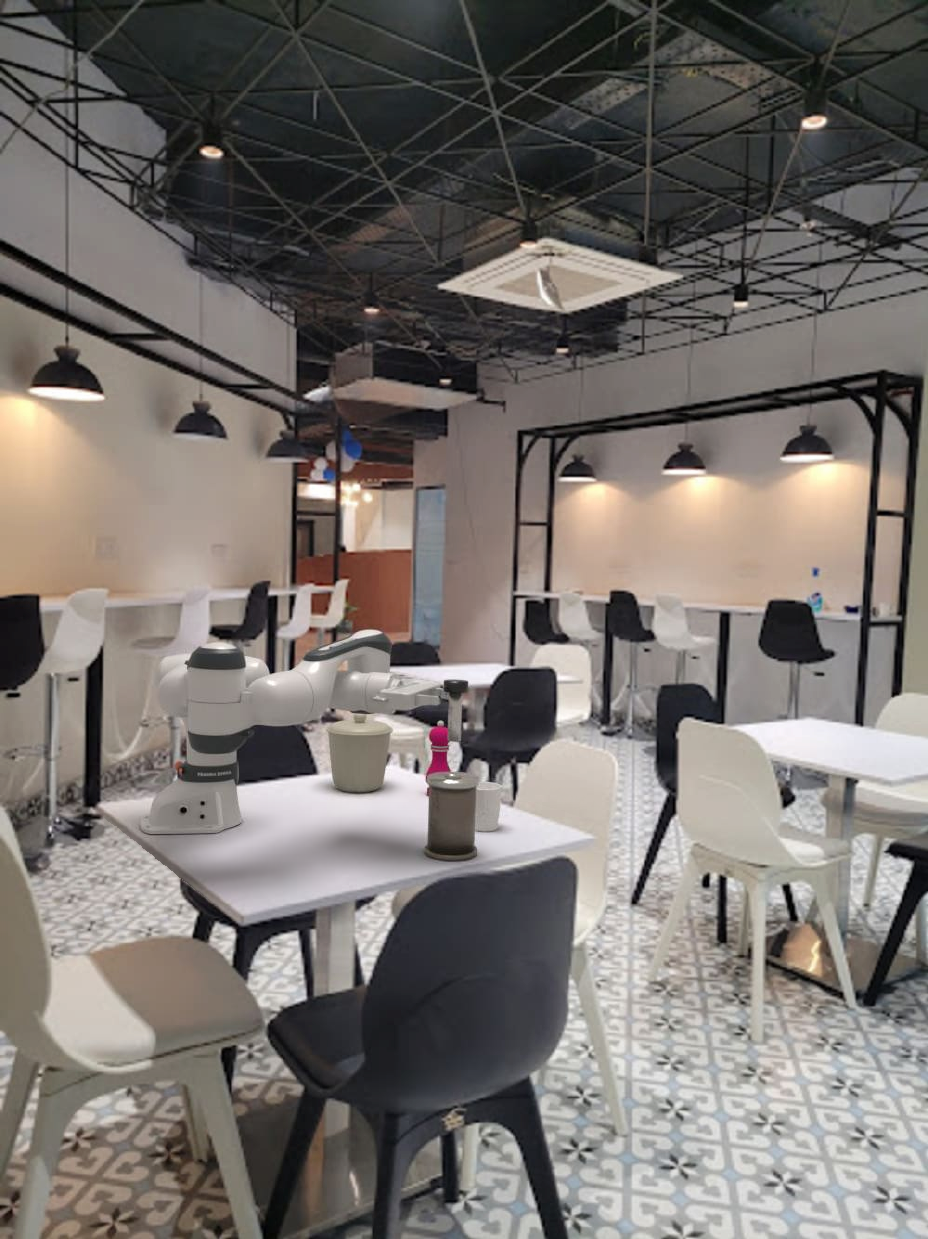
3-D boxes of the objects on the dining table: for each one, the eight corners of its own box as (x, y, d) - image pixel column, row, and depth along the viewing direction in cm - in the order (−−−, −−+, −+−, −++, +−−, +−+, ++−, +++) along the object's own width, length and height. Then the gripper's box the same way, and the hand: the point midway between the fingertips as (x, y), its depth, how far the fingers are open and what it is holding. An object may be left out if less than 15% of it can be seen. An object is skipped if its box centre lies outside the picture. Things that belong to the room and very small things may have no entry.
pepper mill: (453, 792, 244) (455, 719, 243) (450, 799, 237) (452, 723, 236) (426, 791, 245) (429, 718, 244) (423, 797, 238) (425, 722, 237)
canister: (378, 779, 258) (380, 705, 256) (401, 793, 241) (403, 715, 240) (316, 783, 250) (318, 707, 249) (336, 799, 233) (338, 718, 232)
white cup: (504, 825, 214) (505, 783, 213) (494, 834, 206) (496, 791, 206) (472, 821, 216) (474, 780, 216) (462, 830, 209) (463, 787, 208)
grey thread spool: (434, 863, 184) (436, 781, 183) (417, 847, 195) (419, 769, 194) (485, 858, 188) (487, 778, 187) (465, 843, 199) (468, 766, 198)
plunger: (446, 743, 187) (448, 682, 186) (438, 738, 192) (440, 679, 191) (470, 742, 189) (472, 682, 188) (461, 737, 193) (463, 679, 193)
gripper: (366, 683, 184) (430, 688, 180) (403, 674, 203) (461, 678, 199) (366, 714, 184) (429, 719, 180) (402, 702, 204) (461, 706, 200)
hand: (447, 697), depth 190 cm, fingers open, 8 cm apart
